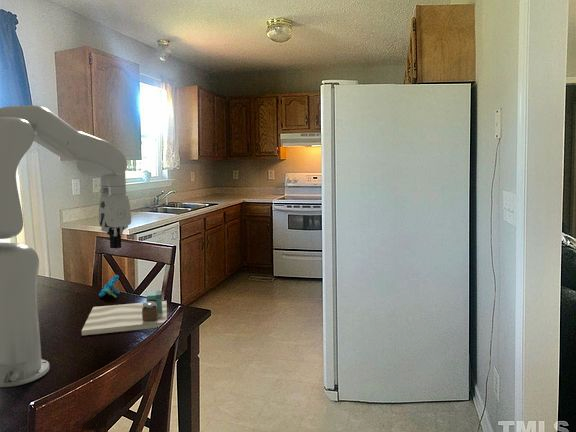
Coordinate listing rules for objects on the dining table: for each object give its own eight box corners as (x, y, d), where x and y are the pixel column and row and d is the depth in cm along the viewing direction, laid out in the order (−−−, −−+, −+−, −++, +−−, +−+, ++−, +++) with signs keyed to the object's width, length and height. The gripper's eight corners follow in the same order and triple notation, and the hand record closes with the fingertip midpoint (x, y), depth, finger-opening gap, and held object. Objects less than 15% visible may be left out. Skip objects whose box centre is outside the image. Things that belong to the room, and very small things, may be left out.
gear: (99, 288, 171) (117, 269, 171) (111, 297, 173) (129, 279, 173) (95, 300, 161) (114, 280, 161) (108, 309, 163) (127, 290, 163)
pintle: (156, 320, 135) (156, 304, 135) (143, 322, 134) (142, 306, 134) (157, 316, 139) (156, 300, 138) (143, 317, 138) (143, 302, 137)
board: (167, 326, 134) (167, 322, 134) (81, 335, 128) (81, 330, 128) (166, 304, 155) (166, 300, 155) (93, 311, 149) (93, 307, 149)
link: (156, 319, 135) (156, 308, 135) (142, 320, 134) (142, 309, 134) (159, 301, 152) (159, 291, 152) (147, 302, 151) (146, 292, 151)
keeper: (162, 312, 143) (161, 294, 142) (147, 313, 142) (146, 296, 141) (162, 307, 148) (161, 290, 147) (148, 308, 146) (147, 291, 146)
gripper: (105, 192, 133) (107, 252, 135) (138, 191, 147) (140, 245, 149) (86, 192, 136) (89, 251, 138) (120, 190, 150) (122, 244, 152)
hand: (115, 247), depth 143 cm, fingers closed
